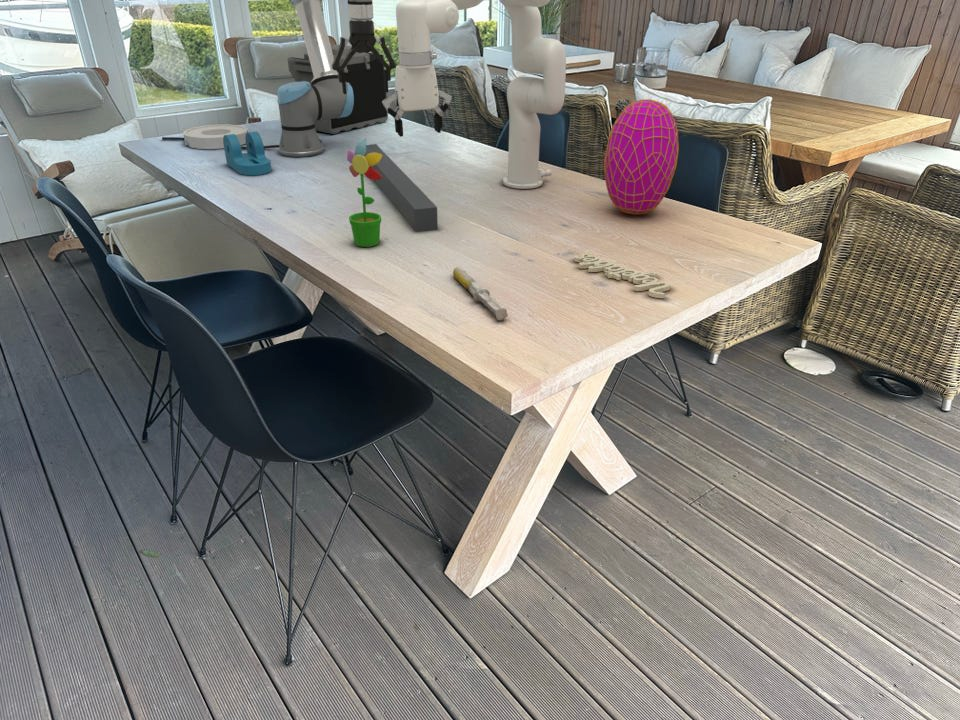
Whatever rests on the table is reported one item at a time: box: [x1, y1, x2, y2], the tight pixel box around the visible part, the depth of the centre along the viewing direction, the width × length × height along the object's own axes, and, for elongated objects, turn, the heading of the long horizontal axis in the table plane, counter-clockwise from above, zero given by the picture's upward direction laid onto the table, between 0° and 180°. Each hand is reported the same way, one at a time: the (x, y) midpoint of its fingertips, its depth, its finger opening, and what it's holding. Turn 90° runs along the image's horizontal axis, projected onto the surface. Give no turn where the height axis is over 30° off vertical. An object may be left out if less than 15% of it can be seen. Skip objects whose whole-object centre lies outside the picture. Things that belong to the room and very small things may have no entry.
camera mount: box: [223, 131, 272, 176], centre depth 226 cm, size 18×10×10 cm, turn 35°
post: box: [365, 143, 439, 233], centre depth 207 cm, size 72×6×6 cm, turn 20°
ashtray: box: [182, 123, 249, 150], centre depth 260 cm, size 23×23×4 cm
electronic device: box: [287, 43, 389, 135], centre depth 281 cm, size 37×22×30 cm, turn 144°
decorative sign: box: [574, 252, 671, 299], centre depth 155 cm, size 26×1×10 cm
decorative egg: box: [603, 98, 680, 215], centre depth 186 cm, size 19×19×30 cm
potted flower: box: [346, 138, 382, 248], centre depth 165 cm, size 9×8×25 cm
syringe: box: [452, 266, 509, 321], centre depth 145 cm, size 25×4×3 cm, turn 21°
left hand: (365, 92), depth 222 cm, fingers open, 13 cm apart
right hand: (419, 133), depth 171 cm, fingers open, 9 cm apart
